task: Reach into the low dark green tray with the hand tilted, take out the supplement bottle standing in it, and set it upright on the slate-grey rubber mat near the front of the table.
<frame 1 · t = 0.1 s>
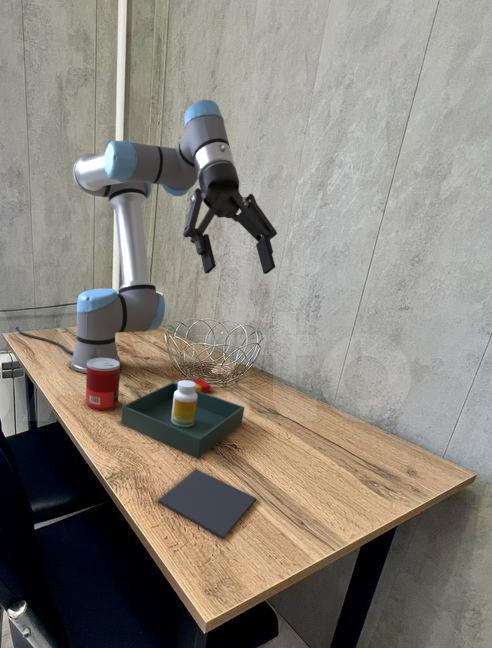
hand: (240, 270, 76), 36 cm above the table, tool tilted 35°, fingers open, 13 cm apart
mat: (207, 501, 67), on the table
canned food: (102, 404, 100), on the table
popsicle: (183, 391, 110), on the table
supplement bottle: (182, 422, 92), resting on dark green tray
dark green tray: (182, 423, 93), on the table
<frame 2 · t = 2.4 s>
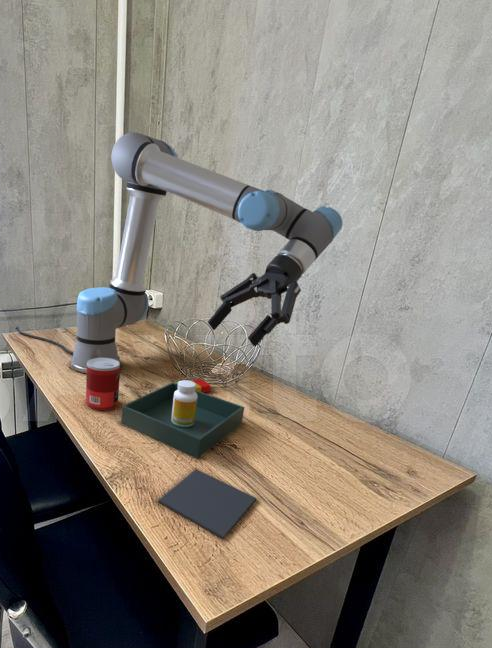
hand: (229, 333, 90), 21 cm above the table, tool tilted 45°, fingers open, 13 cm apart
nothing on the table moved.
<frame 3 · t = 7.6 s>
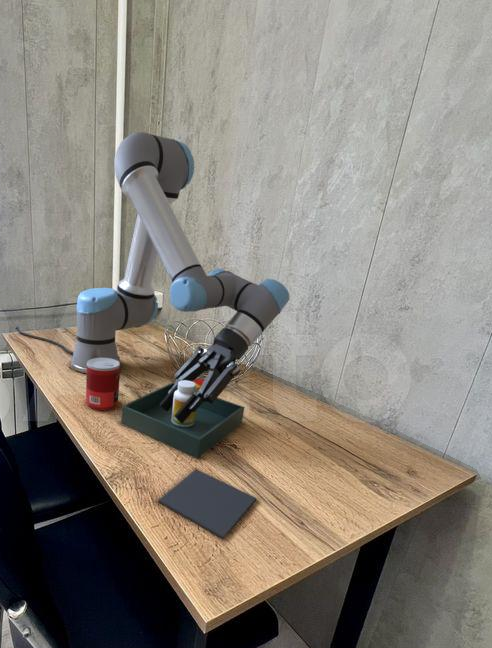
hand: (170, 413, 90), 3 cm above the table, tool tilted 45°, fingers closed on supplement bottle, 5 cm apart
supplement bottle: (182, 422, 92), resting on dark green tray, touching gripper
everything else where it was.
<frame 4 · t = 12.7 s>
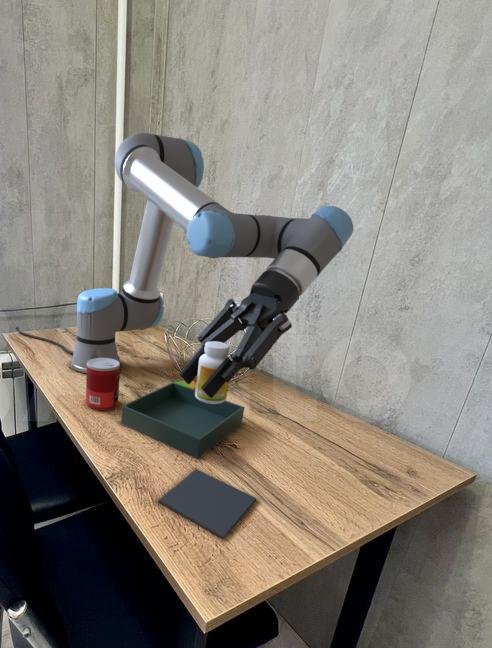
hand: (194, 385, 66), 19 cm above the table, tool tilted 45°, fingers closed on supplement bottle, 5 cm apart
supplement bottle: (210, 399, 69), point 15 cm above the table, touching gripper
everything else where it was.
when the fingers open (3 cm above the table, at t = 18.0 s): supplement bottle stays where it is, resting on mat.
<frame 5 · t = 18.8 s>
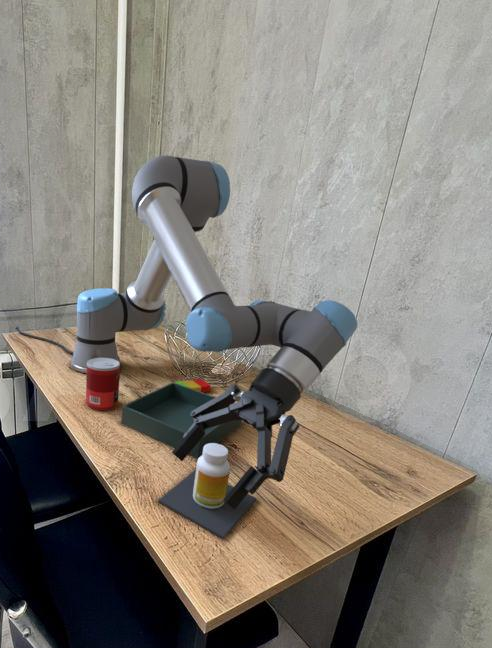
hand: (200, 479, 65), 5 cm above the table, tool tilted 45°, fingers open, 13 cm apart
supplement bottle: (208, 499, 67), resting on mat
everything else where it was.
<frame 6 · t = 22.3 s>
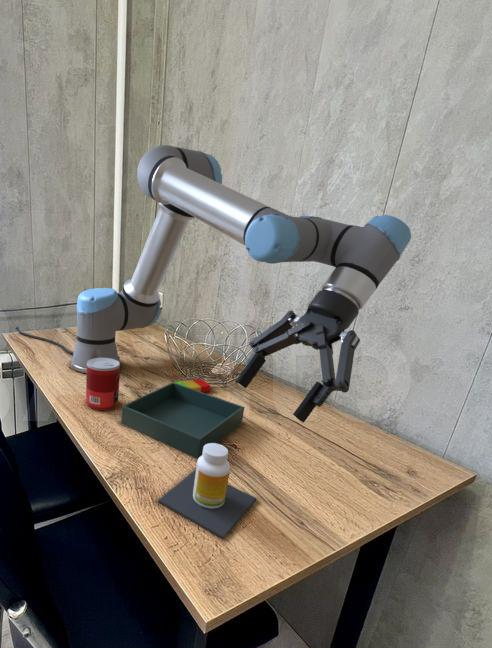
hand: (267, 400, 70), 16 cm above the table, tool tilted 35°, fingers open, 13 cm apart
nothing on the table moved.
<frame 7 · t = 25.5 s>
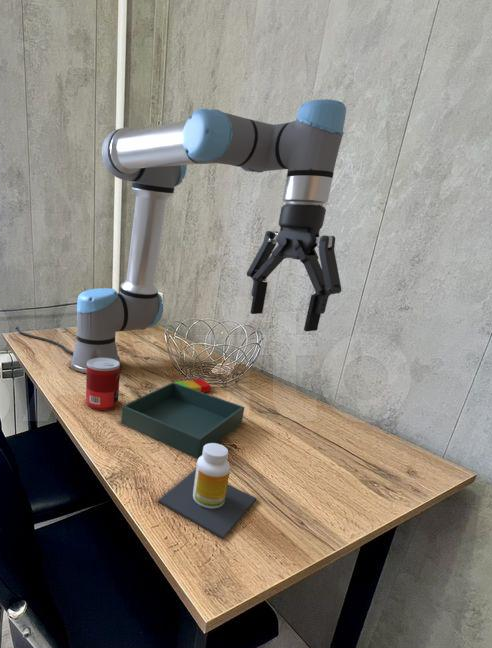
hand: (281, 321, 78), 27 cm above the table, tool pointing down, fingers open, 13 cm apart
nothing on the table moved.
at the end: supplement bottle inside the target area on the mat (0.1 cm from its centre), point 0.3 cm above the mat's base; supplement bottle tilted 0°; the gripper is holding nothing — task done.
